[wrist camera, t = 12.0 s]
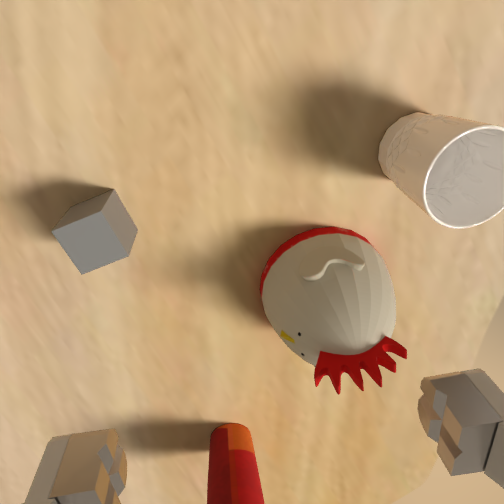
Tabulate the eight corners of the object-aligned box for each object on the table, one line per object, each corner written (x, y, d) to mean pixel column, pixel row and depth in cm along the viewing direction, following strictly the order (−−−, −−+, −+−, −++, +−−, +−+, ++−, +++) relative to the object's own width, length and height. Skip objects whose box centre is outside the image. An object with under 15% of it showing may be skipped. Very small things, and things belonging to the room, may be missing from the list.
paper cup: (208, 459, 56) (210, 576, 44) (197, 423, 52) (195, 540, 40) (262, 449, 56) (279, 562, 44) (255, 412, 53) (271, 525, 40)
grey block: (70, 206, 37) (51, 231, 32) (114, 188, 37) (100, 211, 32) (96, 246, 39) (81, 274, 34) (138, 229, 39) (128, 256, 34)
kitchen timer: (249, 242, 41) (272, 337, 28) (379, 214, 41) (463, 295, 28) (271, 343, 47) (297, 458, 34) (382, 318, 48) (451, 423, 34)
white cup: (359, 133, 37) (409, 161, 28) (438, 88, 36) (516, 103, 27) (386, 201, 40) (438, 245, 32) (459, 162, 39) (534, 197, 30)
